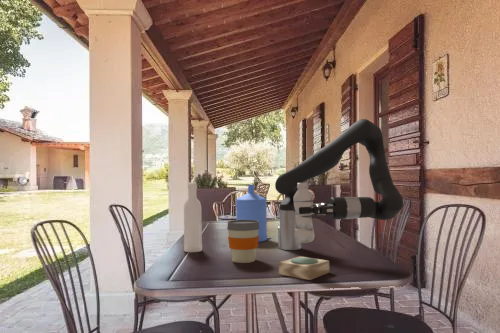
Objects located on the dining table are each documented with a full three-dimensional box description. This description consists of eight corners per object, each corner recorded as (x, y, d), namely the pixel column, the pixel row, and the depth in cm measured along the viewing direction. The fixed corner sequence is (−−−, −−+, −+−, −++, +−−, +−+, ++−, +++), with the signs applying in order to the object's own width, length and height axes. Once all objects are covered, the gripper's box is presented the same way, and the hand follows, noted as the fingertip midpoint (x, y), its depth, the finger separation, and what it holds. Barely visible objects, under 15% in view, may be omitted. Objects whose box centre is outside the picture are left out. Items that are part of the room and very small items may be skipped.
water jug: (267, 242, 197) (266, 185, 197) (235, 243, 197) (234, 185, 198) (266, 237, 212) (266, 184, 213) (236, 238, 213) (236, 184, 213)
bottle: (185, 253, 173) (184, 182, 174) (182, 249, 181) (181, 182, 181) (203, 251, 176) (203, 182, 176) (200, 248, 183) (199, 182, 184)
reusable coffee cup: (229, 264, 150) (228, 223, 150) (226, 257, 162) (225, 220, 162) (262, 263, 152) (262, 222, 152) (256, 256, 164) (256, 219, 164)
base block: (279, 274, 134) (278, 261, 134) (299, 267, 143) (299, 255, 143) (309, 280, 126) (309, 266, 127) (329, 272, 135) (329, 259, 136)
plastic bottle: (314, 244, 131) (312, 182, 132) (293, 244, 133) (291, 183, 133) (315, 241, 138) (313, 182, 138) (295, 240, 139) (293, 182, 139)
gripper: (336, 195, 145) (290, 197, 142) (352, 198, 130) (302, 199, 128) (336, 216, 145) (291, 218, 142) (353, 221, 130) (302, 223, 128)
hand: (296, 209), depth 135 cm, fingers closed on plastic bottle, 6 cm apart
